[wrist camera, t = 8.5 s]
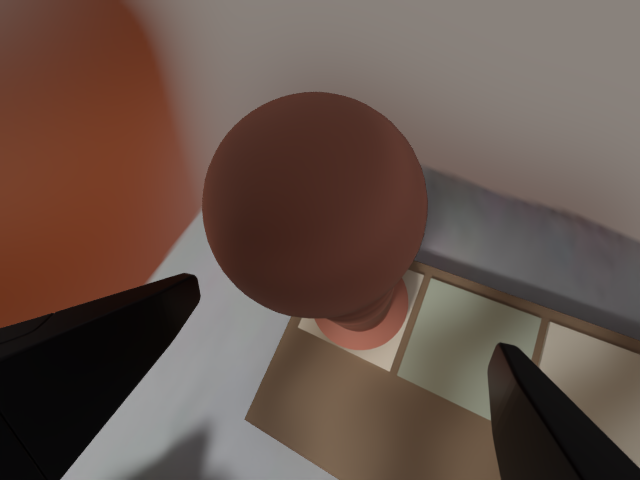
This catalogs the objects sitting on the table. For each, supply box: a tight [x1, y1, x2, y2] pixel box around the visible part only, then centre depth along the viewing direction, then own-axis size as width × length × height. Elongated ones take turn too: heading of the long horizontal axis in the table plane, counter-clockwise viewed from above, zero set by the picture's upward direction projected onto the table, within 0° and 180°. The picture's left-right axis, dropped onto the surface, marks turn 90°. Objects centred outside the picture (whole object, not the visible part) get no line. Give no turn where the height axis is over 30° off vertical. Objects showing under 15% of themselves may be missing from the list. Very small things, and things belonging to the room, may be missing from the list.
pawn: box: [202, 92, 428, 350], centre depth 11 cm, size 5×5×15 cm
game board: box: [244, 260, 640, 480], centre depth 15 cm, size 19×12×1 cm, turn 66°
